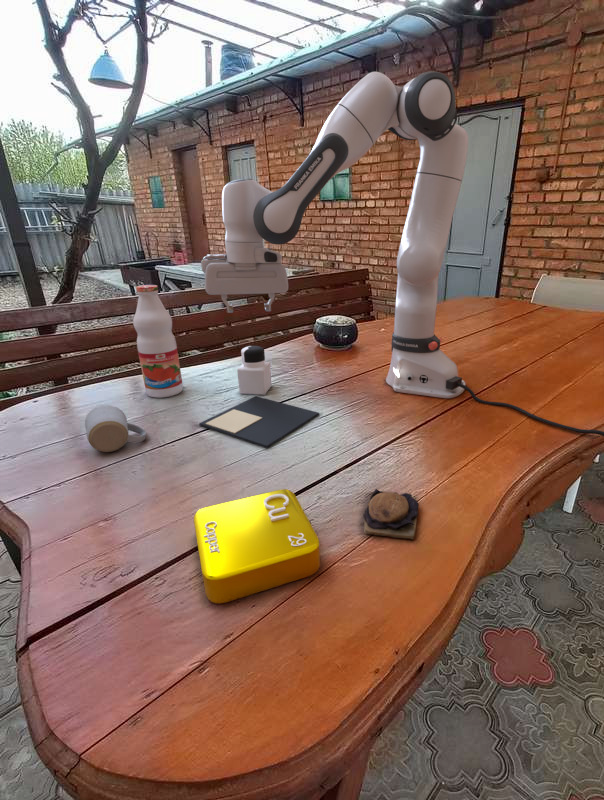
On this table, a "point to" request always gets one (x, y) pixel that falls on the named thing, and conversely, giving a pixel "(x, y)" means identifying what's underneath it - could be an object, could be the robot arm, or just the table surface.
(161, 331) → the fruit juice
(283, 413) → the mat
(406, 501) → the brown layered stack
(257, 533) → the element tile
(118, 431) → the ceramic mug
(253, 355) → the medicine bottle
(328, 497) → the table surface
